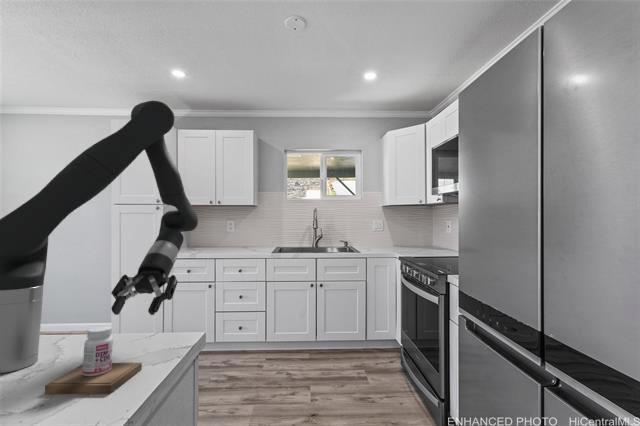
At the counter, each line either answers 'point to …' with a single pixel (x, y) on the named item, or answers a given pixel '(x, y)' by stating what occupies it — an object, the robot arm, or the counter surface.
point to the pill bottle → (98, 351)
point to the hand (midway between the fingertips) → (132, 313)
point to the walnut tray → (93, 380)
